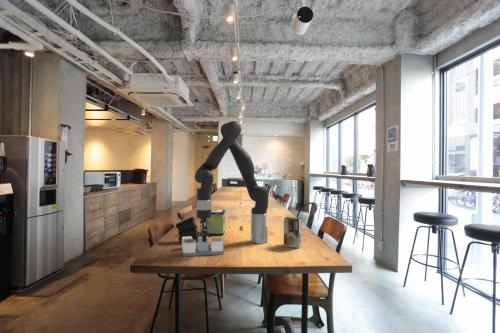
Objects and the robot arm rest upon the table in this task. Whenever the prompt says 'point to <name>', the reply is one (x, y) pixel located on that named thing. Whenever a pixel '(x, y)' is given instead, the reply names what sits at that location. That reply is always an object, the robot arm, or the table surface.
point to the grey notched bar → (214, 249)
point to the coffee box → (292, 232)
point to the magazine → (187, 229)
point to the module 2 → (202, 245)
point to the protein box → (216, 223)
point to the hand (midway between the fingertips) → (203, 239)
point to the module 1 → (186, 239)
